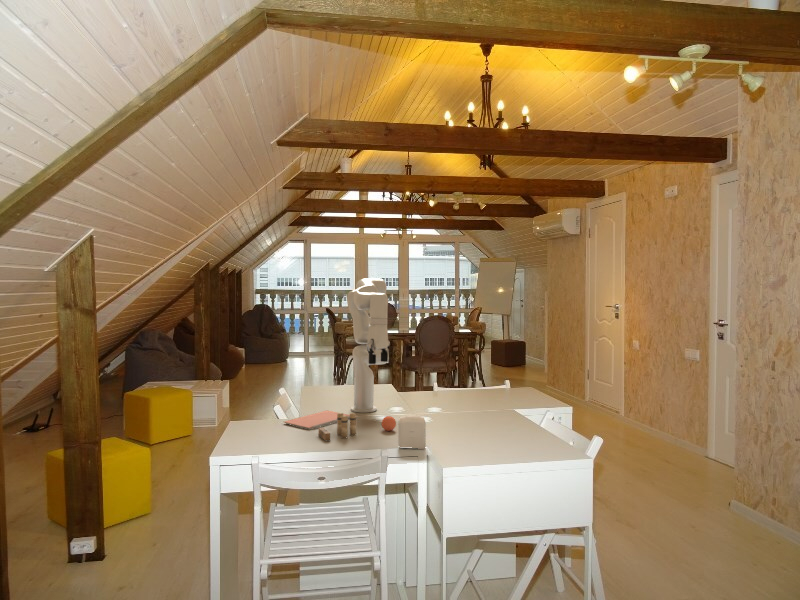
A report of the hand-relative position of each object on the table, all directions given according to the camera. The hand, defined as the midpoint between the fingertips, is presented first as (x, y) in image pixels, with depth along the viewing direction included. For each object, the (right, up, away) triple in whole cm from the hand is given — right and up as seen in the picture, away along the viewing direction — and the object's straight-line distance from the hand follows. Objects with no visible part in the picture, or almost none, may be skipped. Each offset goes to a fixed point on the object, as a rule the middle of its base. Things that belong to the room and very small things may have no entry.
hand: (378, 362), depth 227 cm
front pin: (-10, -28, -10) cm, 31 cm away
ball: (+4, -25, -3) cm, 26 cm away
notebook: (-27, -28, +12) cm, 41 cm away
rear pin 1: (-15, -28, -9) cm, 33 cm away
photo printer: (+14, -29, -27) cm, 42 cm away
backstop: (-21, -28, -15) cm, 38 cm away
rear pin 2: (-13, -28, -14) cm, 34 cm away
